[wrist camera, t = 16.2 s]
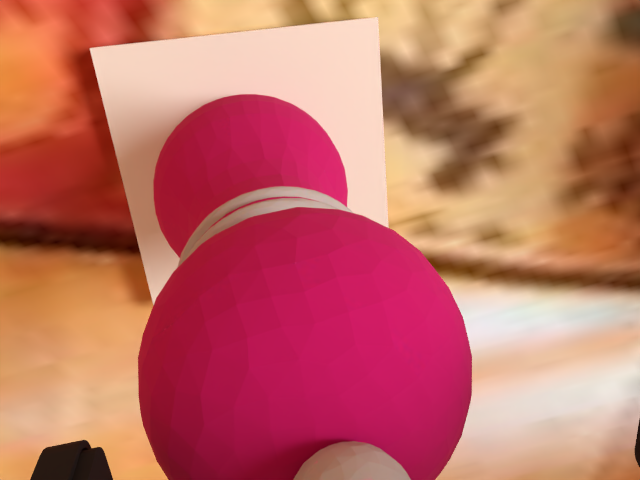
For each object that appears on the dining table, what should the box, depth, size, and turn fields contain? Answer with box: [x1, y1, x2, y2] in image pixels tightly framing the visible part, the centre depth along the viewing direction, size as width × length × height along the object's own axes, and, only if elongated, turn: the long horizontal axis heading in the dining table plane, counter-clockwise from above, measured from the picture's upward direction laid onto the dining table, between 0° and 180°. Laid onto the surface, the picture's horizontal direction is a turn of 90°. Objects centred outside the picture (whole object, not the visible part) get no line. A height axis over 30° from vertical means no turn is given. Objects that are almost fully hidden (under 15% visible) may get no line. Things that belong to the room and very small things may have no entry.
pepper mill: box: [138, 94, 472, 480], centre depth 15 cm, size 7×7×20 cm
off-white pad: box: [90, 17, 388, 306], centre depth 25 cm, size 12×12×1 cm
